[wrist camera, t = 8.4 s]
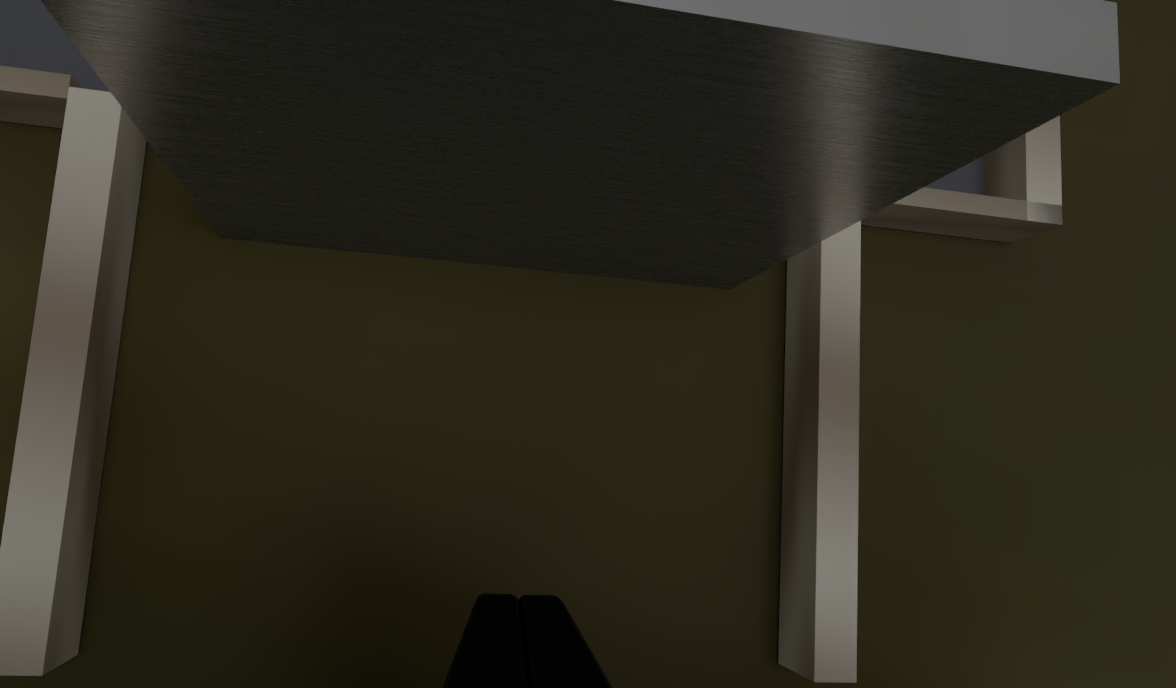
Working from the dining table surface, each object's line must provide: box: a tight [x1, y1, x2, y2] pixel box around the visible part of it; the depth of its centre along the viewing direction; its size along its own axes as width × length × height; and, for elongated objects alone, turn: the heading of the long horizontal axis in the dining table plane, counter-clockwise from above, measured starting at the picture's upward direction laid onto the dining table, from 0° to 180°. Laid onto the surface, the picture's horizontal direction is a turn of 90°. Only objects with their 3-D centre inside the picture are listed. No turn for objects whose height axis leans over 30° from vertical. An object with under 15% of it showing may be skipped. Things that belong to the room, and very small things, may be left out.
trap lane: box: [0, 0, 1062, 683], centre depth 15 cm, size 21×23×4 cm
